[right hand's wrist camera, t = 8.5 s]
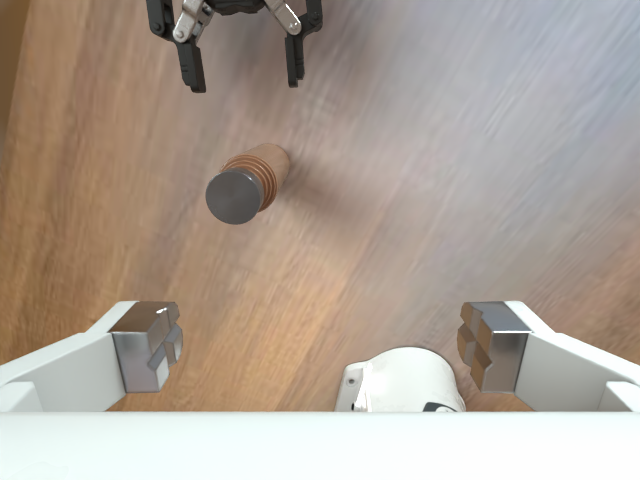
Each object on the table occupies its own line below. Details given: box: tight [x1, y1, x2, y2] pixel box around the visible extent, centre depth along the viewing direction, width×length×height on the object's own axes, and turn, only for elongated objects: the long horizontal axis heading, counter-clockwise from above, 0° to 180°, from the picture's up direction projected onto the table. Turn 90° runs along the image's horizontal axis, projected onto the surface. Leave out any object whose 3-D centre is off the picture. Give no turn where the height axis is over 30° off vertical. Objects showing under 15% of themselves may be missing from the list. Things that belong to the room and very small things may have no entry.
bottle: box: [220, 144, 290, 213], centre depth 32 cm, size 5×5×17 cm
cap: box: [206, 167, 264, 225], centre depth 25 cm, size 4×4×2 cm
